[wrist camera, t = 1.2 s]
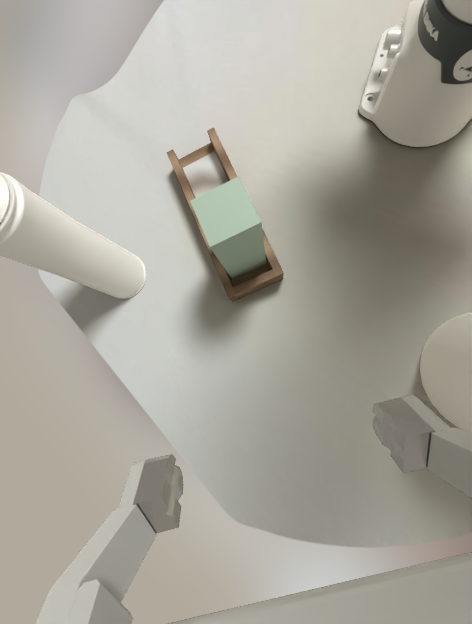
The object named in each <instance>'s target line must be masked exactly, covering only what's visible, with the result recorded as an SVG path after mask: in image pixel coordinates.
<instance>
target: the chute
mask: <svg viewBox="0 0 472 624" xmlns="http://www.w3.org/2000/svg"><path fill="white" fill-rule="evenodd" d="M207 132H208V135H209V138H210V141H211V143H209V144H208V145H206V146H204V147H202V148H200V149H198V150H196V151H194V152H192V153H191V154H189V155H187V156H185V157H183V158H181V159H179V160H178V158H177V156H176V154H175V152H174V150H171V151H169V152H167V154H168V157H169V159H170V161H171V164H172V166H173V168H174V171H175V173H176V175H177V178H178V180H179V182H180V185H181V187H182V189H183V192H184V194H185V196H186V199H187V201H188V204H189V206H190V208H191V211H192V213H193V215H194V218H195V220H196V222H197V225H198V227H199V229H200V232H201V234H202V236H203V239H204V241H205V243H206V246H207V248H208V250H209V253H210V255H211V257H212V260H213V262H214V264H215V267H216V269H217V271H218V274H219V276H220V278H221V281H222V283H223V285H224V288H225V290H226V292H227V295H228V297H229V298H230V299H231V300H232V301H235V300H237V299H240V298H242V297H244V296H246V295H248V294H251V293H253V292H255V291H257V290H259V289H262V288H264V287H266V286H268V285H270V284H273V283H275V282H277V281H279V280H281V279H283V271H282V269H281V266H280V264H279V262H278V260H277V258H276V256H275V254H274V252H273V250H272V248H271V246H270V244H269V242H268V239H267V237H266V235H265V233H264V231H263V229H262V232H263V240H264V248H265V256H266V263H267V264H266V265H264V266H262V267H259V268H257V269H255V270H253V271H251V272H249V273H246V274H244V275H242V276H240V277H238V278H236V279H234V280H232V278H231V277H230V275H229V274H228V273H227V271H226V270H225V268H224V267H223V265H222V264H221V263H220V261H219V260H218V258H217V257H216V255H215V254H214V253H213V251H212V250H211V248H210V247H209V244H208V242H207V240H206V237H205V235H204V233H203V230H202V228H201V226H200V223H199V221H198V219H197V216H196V214H195V212H194V209H193V207H192V205H191V202H190V201H191V200H193V199H195V198H197V197H199V196H201V195H203V194H204V193H206V192H208V191H210V190H212V189H214V188H216V187H218V186H220V185H222V184H224V183H226V182H228V181H230V180H232V179H234V178H236V177H237V175H236V173H235V171H234V169H233V167H232V165H231V163H230V160H229V158H228V156H227V154H226V152H225V150H224V148H223V146H222V144H221V142H220V140H219V138H218V136H217V133H216V131H215V129H214V128H212V129H210V130H208V131H207Z"/></svg>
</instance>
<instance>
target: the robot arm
mask: <svg viewBox="0 0 472 624" xmlns="http://www.w3.org/2000/svg"><path fill="white" fill-rule="evenodd" d="M359 113H360V114H361V115H362V116H364V117H366V118H367V119H369V120H371V121H373V122H374V123H375V124H376V125H377V127H378V128H379V129H380V131H381V132H382V133H383V134H384V135H385V136H387V137H388V138H389V139H391V140H393V141H395V142H397V143H399V144H402V145H406V146H412V147H426V146H432V145H436V144H439V143H442V142H445V141H447V140H449V139H450V138H452V137H454V136H455V135H456V134H458V133H459V132H460V131H461V130H462V129H463V128H464V127H465V125H466V124H467V123H468V122H469V121H470V120H471V119H472V0H413V1H411V3H410V4H409V5H408V7H407V9H406V11H405V14H404V16H403V19H402V21H401V23H400V24H397V25H395V26H393V27H391V28H389V29H387V30H386V31H384V32H383V34H382V36H381V38H380V41H379V43H378V47H377V50H376V53H375V57H374V60H373V63H372V66H371V70H370V73H369V76H368V80H367V83H366V86H365V90H364V93H363V96H362V100H361V103H360V106H359ZM373 413H374V414H375V415H376V416H375V417H374V419H373V427H374V430H375V433H376V435H377V437H378V439H379V440H380V442H381V443H382V444H383V445H384V446H386V447H387V448H389V449H391V457H392V458H393V460H394V461H395V462H396V464H397V465H398V467H399V468H400V469H401V471H402V472H403V473H406V472H411V471H416V470H421V469H425V468H427V470H429V471H430V472H432V473H433V474H435V475H436V476H438V477H439V478H441V479H442V480H444V481H446V482H447V483H449V484H450V485H452V486H453V487H455V488H456V489H458V490H459V491H461V492H462V493H464V494H465V495H467V496H468V497H470V498H471V499H472V434H470V433H468V432H466V431H463V430H461V429H458V428H456V427H453V428H450V427H449V426H448V425H447V424H446V423H445V422H444V421H442V420H441V419H440V418H439V417H438V416H437V415H436V414H435V413H434V412H433V411H431V410H430V409H429V408H428V407H427V406H426V405H425V404H424V403H423V402H422V401H420V400H419V399H418V398H417V397H416V396H414V395H409V396H405V397H400V398H395V399H392V400H388V401H384V402H380V403H376V404H374V405H373ZM175 461H176V459H175V457H174V456H173V455H172V454H171V455H166V456H161V457H157V458H152V459H147V460H144V461H139V462H135V463H134V464H133V465H132V467H131V470H130V473H129V476H128V479H127V482H126V485H125V488H124V491H123V494H122V497H121V500H120V504H119V507H118V509H115V510H114V511H113V512H112V513H111V514H110V515H109V517H108V518H107V519H106V520H105V522H104V523H103V524H102V525H101V527H100V528H99V529H98V530H97V532H96V533H95V534H94V535H93V537H92V538H91V539H90V541H89V542H88V543H87V544H86V546H85V547H84V548H83V549H82V550H81V552H80V553H79V554H78V555H77V557H76V558H75V559H74V560H73V562H72V563H71V564H70V565H69V567H68V568H67V569H66V570H65V572H64V573H63V574H62V575H61V577H60V578H59V579H58V580H57V582H56V583H55V584H54V586H53V587H52V588H51V589H50V592H49V594H48V596H47V599H46V601H45V603H44V606H43V608H42V610H41V613H40V615H39V617H38V620H37V622H36V624H131V623H132V616H131V613H130V612H129V611H128V610H127V609H126V608H125V607H124V606H123V605H122V604H121V601H122V599H123V597H124V595H125V593H126V592H127V590H128V588H129V586H130V584H131V582H132V580H133V578H134V576H135V575H136V573H137V571H138V569H139V567H140V565H141V563H142V561H143V560H144V558H145V556H146V554H147V552H148V550H149V548H150V546H151V544H152V543H153V541H154V539H155V537H156V533H159V532H163V531H167V530H170V529H174V528H178V527H179V521H180V512H181V505H180V503H179V502H178V500H179V498H180V497H181V495H182V494H183V476H182V472H181V469H180V467H178V466H176V465H175ZM168 624H472V552H470V553H465V554H461V555H457V556H453V557H448V558H444V559H440V560H435V561H431V562H427V563H423V564H419V565H414V566H410V567H406V568H401V569H397V570H393V571H389V572H384V573H381V574H376V575H372V576H368V577H364V578H359V579H355V580H350V581H346V582H342V583H338V584H334V585H329V586H325V587H321V588H317V589H312V590H308V591H304V592H300V593H296V594H291V595H287V596H283V597H279V598H274V599H270V600H266V601H261V602H257V603H253V604H249V605H245V606H240V607H236V608H232V609H227V610H223V611H219V612H215V613H210V614H206V615H202V616H198V617H194V618H189V619H185V620H181V621H177V622H172V623H168Z"/></svg>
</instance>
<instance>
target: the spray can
mask: <svg viewBox="0 0 472 624" xmlns="http://www.w3.org/2000/svg"><path fill="white" fill-rule="evenodd" d="M0 256H3V257H6V258H9V259H12V260H15V261H17V262H20V263H23V264H26V265H29V266H33V267H35V268H38V269H41V270H44V271H47V272H50V273H53V274H56V275H59V276H61V277H64V278H66V279H69V280H72V281H74V282H77V283H80V284H82V285H85V286H87V287H90V288H93V289H95V290H98V291H100V292H103V293H106V294H108V295H111V296H113V297H116V298H120V299H126V298H130V297H133V296H134V295H136V294H137V293H138V292H139V291H140V290H141V289H142V288H143V286H144V284H145V281H146V269H145V266H144V264H143V262H142V261H141V260H140V258H138V257H137V256H136V255H134V254H132V253H130V252H129V251H127V250H126V249H124V248H123V247H121V246H119V245H117V244H116V243H114V242H112V241H110V240H109V239H107V238H105V237H103V236H102V235H100V234H98V233H96V232H95V231H93V230H91V229H89V228H88V227H86V226H84V225H82V224H80V223H79V222H77V221H75V220H74V219H72V218H71V217H69V216H68V215H66V214H65V213H63V212H62V211H60V210H59V209H57V208H56V207H54V206H53V205H51V204H50V203H48V202H47V201H45V200H44V199H42V198H41V197H39V196H38V195H36V194H35V193H33V192H32V191H30V190H29V189H27V188H26V187H24V186H23V185H22V184H21V183H19V182H18V181H17V180H15V179H14V178H13V177H11V176H9V175H7V174H4V173H1V172H0Z"/></svg>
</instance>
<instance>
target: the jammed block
mask: <svg viewBox="0 0 472 624" xmlns="http://www.w3.org/2000/svg"><path fill="white" fill-rule="evenodd" d="M190 202H191V205H192V207H193V209H194V212H195V214H196V216H197V219H198V221H199V223H200V226H201V228H202V230H203V233H204V235H205V237H206V240H207V242H208V244H209V247H210V248H211V250H212V251H213V253H214V254H215V255H216V257H217V258H218V260H219V261H220V263H221V264H222V265H223V267H224V268H225V270H226V271H227V273H228V274H229V275H230V277H231V278H232V280H234V279H236V278H238V277H240V276H242V275H244V274H246V273H249V272H251V271H253V270H255V269H257V268H259V267H262V266H264V265H266V264H267V263H266V256H265V248H264V240H263V232H262V224H261V221H260V219H259V217H258V215H257V212H256V210H255V208H254V206H253V204H252V202H251V200H250V198H249V196H248V194H247V192H246V190H245V188H244V186H243V183H242V181H241V179H240V177H239V176H238V177H236V178H234V179H232V180H230V181H228V182H226V183H224V184H222V185H220V186H218V187H216V188H214V189H212V190H210V191H208V192H206V193H204V194H203V195H201V196H199V197H197V198H195V199H193V200H191V201H190Z"/></svg>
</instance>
